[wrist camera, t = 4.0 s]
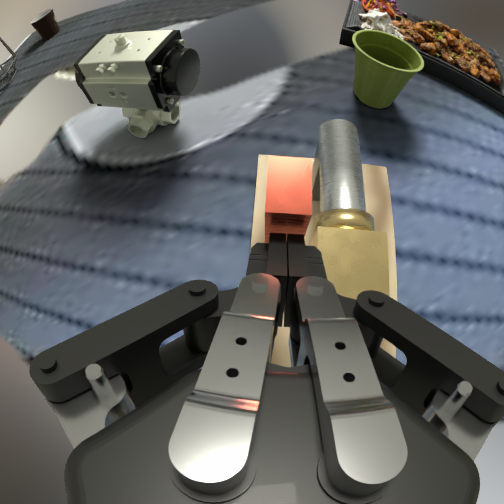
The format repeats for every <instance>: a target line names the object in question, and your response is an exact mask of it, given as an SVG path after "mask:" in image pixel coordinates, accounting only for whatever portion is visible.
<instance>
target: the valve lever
mask: <svg viewBox="0 0 504 504" xmlns="http://www.w3.org/2000/svg"><path fill="white" fill-rule="evenodd" d="M311 217H312V159H305V158H292V157H277V156H269V158H268V172H267V186H266V201H265V243H269V236H270V232H271V233H286V241H287V233H288V234H304V237H305V234H306V231H307V228H308V226H309V223H310V220H311Z"/></svg>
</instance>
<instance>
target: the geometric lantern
mask: <svg viewBox="0 0 504 504" xmlns="http://www.w3.org/2000/svg"><path fill="white" fill-rule="evenodd" d="M0 41H1V42H2V43H3V45H4V46H5V47H6V48H7V49H8V51H9V52H10V53H11V54H12V55H13V56H12V57H11V58H10V59H12V58H13V57H15V59H14V58H13V62H12V64H13V66H12V64H11V65H10V67H9V68H8V69H7V70H5V69H4V68H3V67H2V65H4V64H5V63H6V62H8V61H9V60H10V59H8V60H7V61H6V62H4V63H3V64H2V65H0V68H1V69H2V70H3V71H4V73H5V74H4V73H2V74H4V76H3V77H2V78H1V75H2V74H1V75H0V82H1V81H2V80H4V81H3V82H5V81H7V82H8V84H10V83H11V82H12V80H13V78H14V76H15V74H16V72H17V70H18V69H16V67H15V63H16V60H17V55H16V54H15V53H14V52H13V51H12V50H11V49H10V47H9V46H8V45H7V44H6V43H5V42H4V41H3V40H2V39H1V38H0ZM14 61H15V63H14ZM11 67H13V68H14V70H13V68H12V70H13V71H12V70H11V72H10V73H9V74H8V71H9V69H10V68H11ZM15 70H16V72H15V74H14V76H13V78H12V80H11V79H10V77H9V75H10V74H11V73H12V72H14V71H15ZM6 74H7V75H6ZM5 75H6V76H7V79H8V78H9V79H10V80H11V81H10V83H9V81H8V80H7V79H4V78H5V77H6V76H5ZM3 82H2V83H3ZM2 83H0V85H1V84H2ZM8 84H7V85H8ZM7 85H5V86H4V87H6V86H7ZM4 87H3V88H4ZM3 88H1V89H3ZM1 89H0V90H1Z"/></svg>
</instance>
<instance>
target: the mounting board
mask: <svg viewBox="0 0 504 504" xmlns="http://www.w3.org/2000/svg"><path fill="white" fill-rule="evenodd" d="M269 156H274V155H259V159H258V170H257V182H256V193H255V205H254V216H253V227H252V239H251V247H253V246H254V245H255V244H256V243H265V201H266V186H267V172H268V158H269ZM277 157H289V156H277ZM292 158H303V157H292ZM305 159H312V167H313V163H314V158H305ZM362 171H363V180H364V191H365V203H366V212H367V213H369V214H371V215H372V216H373V218H374V225H375V231H381V232H387V240H388V258H389V294H390V297H391V298H393V299H394V300H396V301H397V277H396V255H395V239H394V227H393V217H392V207H391V198H390V190H389V183H388V176H387V169H386V167H382V166H375V165H368V164H362ZM319 213H320V201H313V200H312V217H311V220H310V223H309V226H308V228H307V231H306V234H305V237H304V239H305V245H307V246H309V245H310V243H311V241H312V238H313V219H314V217H315V216H316V215H317V214H319ZM250 252H251V250H250ZM289 335H290V327H284V313H283V322H282V327H278V331H277V335H276V337H275V343H274V349H273V356H272V362H271V363H272V364H276V365H280V366H284V367H291V361H290V352H289ZM380 347H381V348H382V349H384V350H385V351H386V352H388V353H389V354H390V355H392V356H393V357H394V358H395V356H396V347H395V346H394V345H393V344H391V343H390V342H388V341H387V340H386V339H384V338H383V340H382V343H381V345H380Z"/></svg>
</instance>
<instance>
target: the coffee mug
mask: <svg viewBox="0 0 504 504" xmlns="http://www.w3.org/2000/svg"><path fill="white" fill-rule="evenodd" d="M31 24H32V26H33V27H34V28H35V29H36V31H37V32H38V33H39V34H40V35H41V37H42V38H43V39H44V40H48V39H50V38H52V37H53V36H54V35H56V34H57V33H58V32H59V27H58V24H57V21H56V19H55V15H54V12H53V9H52V8H50V9H48V10H46V11H44V12H42V13H41V14H39V15H38V16H37V17H35V18H34V19H33V20H32V21H31Z"/></svg>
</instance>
